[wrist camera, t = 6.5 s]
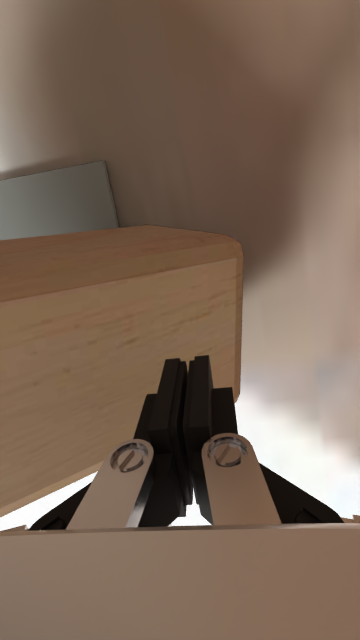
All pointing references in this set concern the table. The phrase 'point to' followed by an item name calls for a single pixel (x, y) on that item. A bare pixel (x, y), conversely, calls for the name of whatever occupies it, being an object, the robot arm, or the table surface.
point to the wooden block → (103, 341)
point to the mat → (57, 202)
